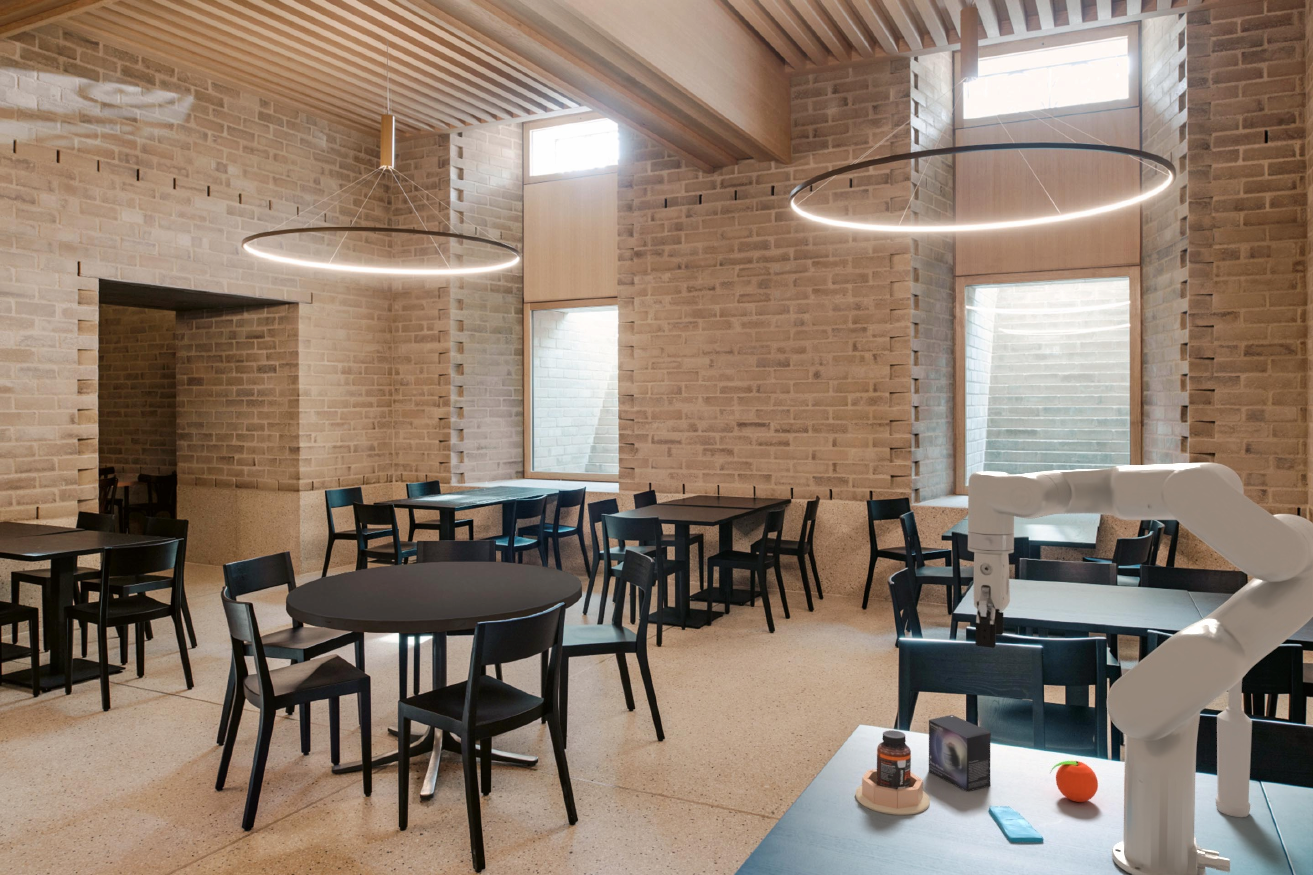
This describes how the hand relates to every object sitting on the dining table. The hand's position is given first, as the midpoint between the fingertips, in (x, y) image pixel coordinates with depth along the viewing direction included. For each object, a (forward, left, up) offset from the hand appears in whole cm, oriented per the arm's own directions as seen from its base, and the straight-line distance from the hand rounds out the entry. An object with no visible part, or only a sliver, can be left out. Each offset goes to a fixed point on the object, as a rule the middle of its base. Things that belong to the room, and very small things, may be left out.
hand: (989, 639), depth 157 cm
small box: (+7, -12, -31) cm, 34 cm away
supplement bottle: (+16, +3, -30) cm, 34 cm away
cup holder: (+16, +3, -30) cm, 34 cm away
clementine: (-13, -12, -31) cm, 35 cm away
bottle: (-38, -20, -31) cm, 53 cm away
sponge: (-5, +4, -31) cm, 32 cm away
